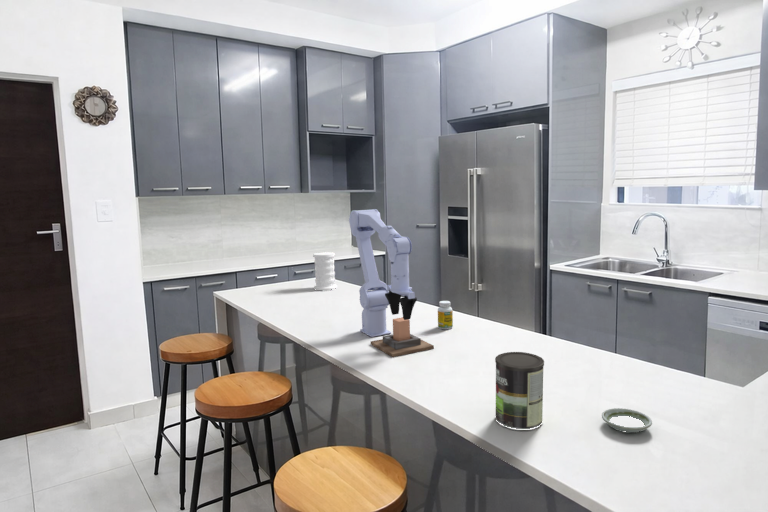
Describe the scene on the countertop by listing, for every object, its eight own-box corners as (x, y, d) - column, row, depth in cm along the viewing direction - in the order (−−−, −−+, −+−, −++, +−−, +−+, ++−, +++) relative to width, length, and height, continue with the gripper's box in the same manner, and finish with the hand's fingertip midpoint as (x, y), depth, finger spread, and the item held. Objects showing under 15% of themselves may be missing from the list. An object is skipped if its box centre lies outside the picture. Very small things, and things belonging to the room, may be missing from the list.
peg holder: (370, 344, 171) (370, 335, 171) (409, 336, 178) (409, 328, 178) (392, 357, 158) (392, 347, 158) (433, 348, 165) (433, 339, 164)
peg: (393, 342, 169) (392, 319, 168) (404, 340, 171) (403, 317, 169) (399, 346, 165) (398, 321, 164) (410, 344, 167) (409, 319, 166)
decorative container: (311, 291, 259) (309, 255, 257) (318, 286, 270) (316, 252, 268) (333, 291, 257) (332, 255, 255) (339, 286, 269) (338, 251, 266)
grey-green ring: (636, 416, 115) (637, 406, 115) (661, 438, 105) (661, 426, 105) (593, 418, 115) (594, 408, 114) (614, 440, 105) (614, 429, 105)
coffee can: (503, 433, 109) (503, 369, 107) (489, 412, 119) (489, 352, 117) (551, 430, 110) (552, 366, 108) (533, 409, 120) (533, 350, 118)
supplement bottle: (446, 324, 192) (445, 299, 190) (455, 328, 187) (455, 302, 186) (434, 327, 189) (434, 301, 187) (444, 330, 184) (444, 304, 183)
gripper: (422, 277, 160) (423, 319, 162) (399, 270, 173) (400, 310, 175) (403, 279, 157) (404, 323, 159) (380, 272, 170) (382, 313, 172)
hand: (401, 316), depth 167 cm, fingers open, 7 cm apart
